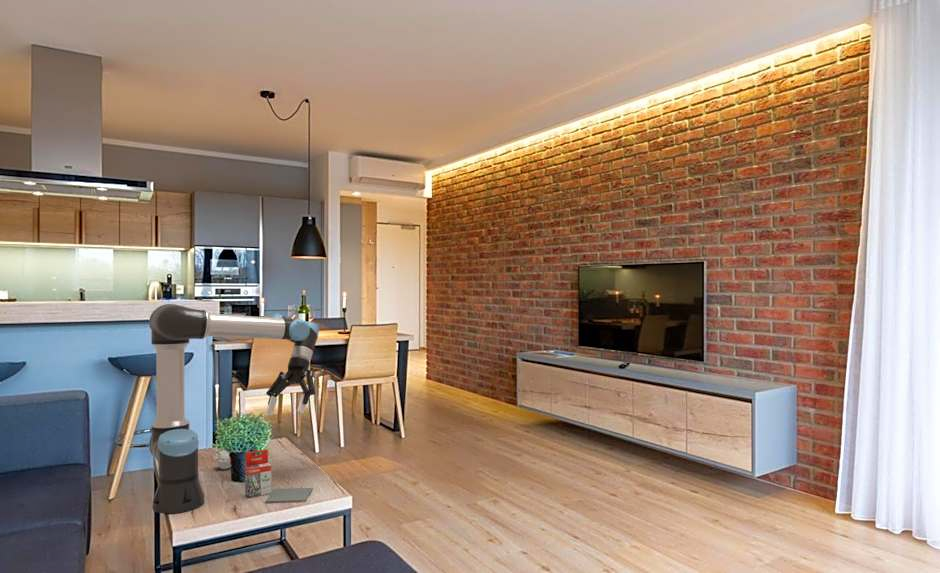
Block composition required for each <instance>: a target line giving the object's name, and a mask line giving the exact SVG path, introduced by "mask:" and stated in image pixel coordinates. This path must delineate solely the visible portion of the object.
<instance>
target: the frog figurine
mask: <svg viewBox="0 0 940 573" xmlns="http://www.w3.org/2000/svg"><path fill="white" fill-rule="evenodd" d="M225 451H226V450H221V451H219V452H217V453H216V454H215V456H214V457H215V458H214V459H215V461H216V462H217V465H218V467H219V469H221V470H228V469H229V468H231V467H230V457H229V454H230V453H229V452H228V451H226V452H225ZM228 453H229V454H228Z"/></svg>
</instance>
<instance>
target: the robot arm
mask: <svg viewBox="0 0 940 573" xmlns="http://www.w3.org/2000/svg"><path fill="white" fill-rule="evenodd" d="M148 321H149V322H148V324H149V328H150V330H151V345H152V346H153V348H155V349H156V350H155V351H156V420H155V421H154V422H152V424H151V427H150V428H151V435H150V438H149V443H148V447H149V452H150V453H151V456H153V458H154V459H155V460H156V461H157V462H158V463H157V466H158V467H157V468H158V485H157V487H156V491H155V494H154V497H153V500H152V510H153V512H155V513H158V514H165V515H166V514H168V513H171V514H178V513H184V512H188V511H189V512H190V511H191V509H192V510H194V508H195V509H197V508H199V507H200V506H202V505H204V503H205V493H204V490H203V487H202V485H201V482H200V479H199V445H200V444H199V437H198V434H197V432H196V431H194V430H192V429H190V421H189V420H188V419H187V418H186V417H185V348H186V347H187V346H188V345H189V344H190V340H193V339H194V340H204V339H206V338H207V337H218V338H219V337H220V338H245V339H265V340H267V339H269V340H285V341H286V340H287V341H289V342H291V343H293V344H294V345H293V348H292V350H291V354H290V359H289V360H288V364H287V372H283V371H280V372H279V373H278V375H277V378H276V379H275V380H274V382H273V383H272V385H271V386H269V388H268V390H267V392H266V394H265V395H267V396H268V397H269V398H268V402H267V409H266V414H267V415H269V416H273V415H274V412H275V407H276V405H277V401H278V398H277V397H279V395H280V394H281V393H283V391H284V390H286V388H287V387H289V386H291V385H296V384H297V385H300V388H301V389H302V390H301V391H302V392H303V393H302V394H301V397H300V399H299V404H298V408H297V413H298V414H300V415H303V414H304V412H305V409H306V406H307V404H309V400H310V397H311V396H314V395H316V390H315V383H314V372H313V371H312V370H311V369H309V367H310V365H311V364H310V363H311V360H312V358H313V354H314V350H315V346H316V343H317V340H318V337H319V332H320V328H319V326H318V325H317V324H316V323H314V322H313V321H312V322H310V321H306V320H304V319H301V318H297V319H296V318H290V317H286V316H284V315H282V314H280V313H274V314H273V315H271V317H267V316H252V315H238V314H237V315H235V314H221V313H209V312H208V311H207V310H206V309H196V308H190V307H186V306H184V305H180V304H179V305H178V304H175V303H167V304H163V305H160V306H158V307H157V308H155V309H154V310H153V312H152V313H151V315H150V316H149V319H148ZM304 378H305V379H306V381H305V379H304ZM306 382H307V384H306Z"/></svg>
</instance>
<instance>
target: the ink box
mask: <svg viewBox="0 0 940 573" xmlns="http://www.w3.org/2000/svg"><path fill="white" fill-rule="evenodd" d="M257 453H259V454H257ZM260 453H261V454H260ZM254 454H255V455H254ZM244 472H245V473H244V485H245V487H244V492H245V493H244V495H245V497H247V499H251V498H255V497H259V496H265V495H270V494H271V493H272V465H271V464H270V463H269V449H268V448H267V449H259V450H253V451H247V452H245V466H244Z"/></svg>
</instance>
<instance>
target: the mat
mask: <svg viewBox="0 0 940 573" xmlns="http://www.w3.org/2000/svg"><path fill="white" fill-rule="evenodd" d="M312 489H314V487H293V488H292V487H290V488H287V487H286V488H274V489H273V490H272V491H271V494H269V496H268V497H267V499H266V500H265V501H264V504H278V503H279V504H283V503H285V502H288V503H302V502H301V501H306V500H307V501H308V499H309V497H310V495H311V493H312V492H311V491H313V490H312ZM308 496H309V497H308ZM307 498H308V499H307ZM307 501H306V502H307Z"/></svg>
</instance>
